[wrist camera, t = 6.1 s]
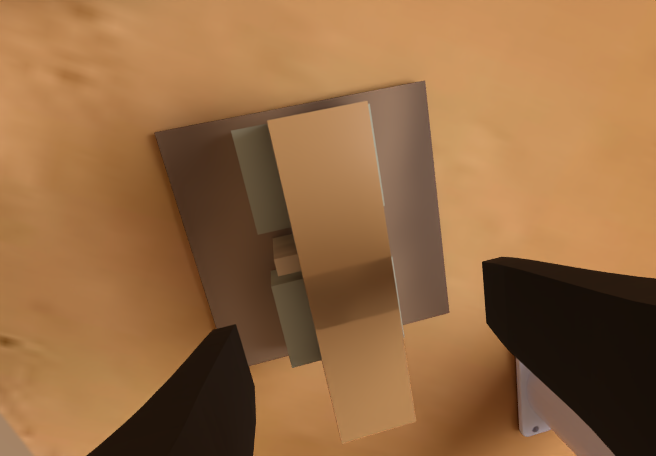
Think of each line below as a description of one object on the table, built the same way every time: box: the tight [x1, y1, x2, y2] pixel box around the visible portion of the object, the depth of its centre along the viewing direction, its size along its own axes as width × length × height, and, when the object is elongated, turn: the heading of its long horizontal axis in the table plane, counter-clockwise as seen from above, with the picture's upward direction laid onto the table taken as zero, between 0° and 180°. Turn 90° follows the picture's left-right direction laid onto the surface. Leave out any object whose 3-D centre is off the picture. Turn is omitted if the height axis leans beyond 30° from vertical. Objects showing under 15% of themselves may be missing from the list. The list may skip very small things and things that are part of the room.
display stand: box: [155, 81, 449, 368], centre depth 18 cm, size 13×13×4 cm
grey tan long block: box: [267, 101, 416, 444], centre depth 15 cm, size 3×12×5 cm, turn 11°
